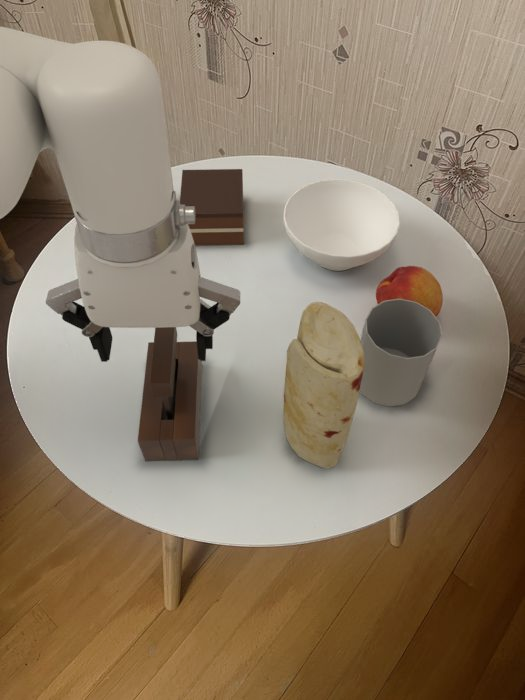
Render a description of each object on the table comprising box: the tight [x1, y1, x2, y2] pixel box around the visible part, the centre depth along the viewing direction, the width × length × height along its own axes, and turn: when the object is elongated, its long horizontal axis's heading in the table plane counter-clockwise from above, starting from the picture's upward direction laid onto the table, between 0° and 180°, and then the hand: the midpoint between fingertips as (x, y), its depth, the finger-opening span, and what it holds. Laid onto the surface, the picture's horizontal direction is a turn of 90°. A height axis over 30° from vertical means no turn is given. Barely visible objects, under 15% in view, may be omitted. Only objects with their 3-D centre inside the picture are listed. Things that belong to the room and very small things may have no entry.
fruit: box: [375, 265, 444, 318], centre depth 73 cm, size 8×8×8 cm
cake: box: [179, 168, 245, 246], centre depth 84 cm, size 9×10×6 cm
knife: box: [150, 327, 178, 420], centre depth 63 cm, size 2×8×12 cm, turn 2°
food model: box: [282, 301, 364, 469], centre depth 57 cm, size 10×7×20 cm
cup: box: [359, 299, 443, 408], centre depth 66 cm, size 8×8×10 cm
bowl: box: [283, 178, 401, 272], centre depth 80 cm, size 16×16×7 cm
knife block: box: [137, 340, 203, 462], centre depth 65 cm, size 6×13×5 cm, turn 2°
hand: (155, 349), depth 57 cm, fingers open, 9 cm apart
